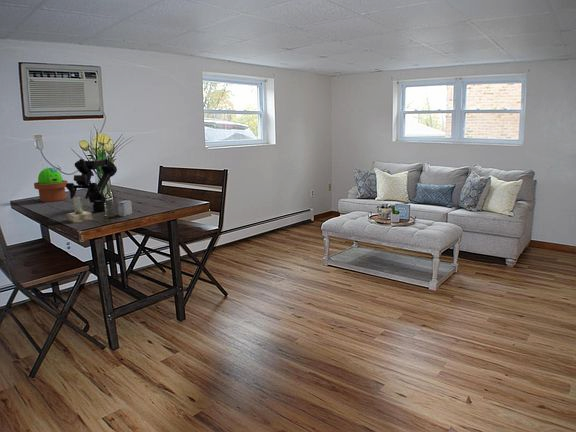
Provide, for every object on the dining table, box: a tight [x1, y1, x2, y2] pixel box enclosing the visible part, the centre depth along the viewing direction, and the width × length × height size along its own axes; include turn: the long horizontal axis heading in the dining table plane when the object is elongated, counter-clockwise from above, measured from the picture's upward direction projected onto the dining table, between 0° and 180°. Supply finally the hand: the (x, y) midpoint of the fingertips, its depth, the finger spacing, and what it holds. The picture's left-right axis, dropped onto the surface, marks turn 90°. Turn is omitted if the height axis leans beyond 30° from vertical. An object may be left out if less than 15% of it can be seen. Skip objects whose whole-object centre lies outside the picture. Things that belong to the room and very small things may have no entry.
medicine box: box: [117, 199, 133, 217], centre depth 274 cm, size 8×4×9 cm, turn 163°
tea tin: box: [72, 195, 84, 214], centre depth 262 cm, size 5×5×10 cm
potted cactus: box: [33, 167, 68, 203], centre depth 329 cm, size 22×22×25 cm
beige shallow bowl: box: [66, 210, 94, 224], centre depth 264 cm, size 11×11×4 cm
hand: (78, 198), depth 263 cm, fingers open, 9 cm apart
